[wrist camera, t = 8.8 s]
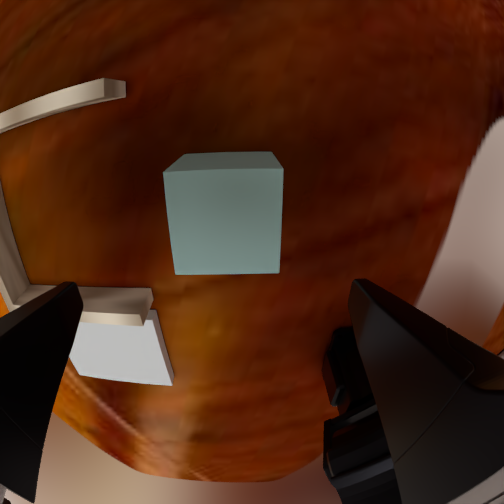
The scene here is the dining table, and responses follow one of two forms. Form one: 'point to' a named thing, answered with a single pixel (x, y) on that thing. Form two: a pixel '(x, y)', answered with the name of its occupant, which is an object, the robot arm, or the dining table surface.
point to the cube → (225, 212)
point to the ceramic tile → (123, 352)
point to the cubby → (3, 243)
